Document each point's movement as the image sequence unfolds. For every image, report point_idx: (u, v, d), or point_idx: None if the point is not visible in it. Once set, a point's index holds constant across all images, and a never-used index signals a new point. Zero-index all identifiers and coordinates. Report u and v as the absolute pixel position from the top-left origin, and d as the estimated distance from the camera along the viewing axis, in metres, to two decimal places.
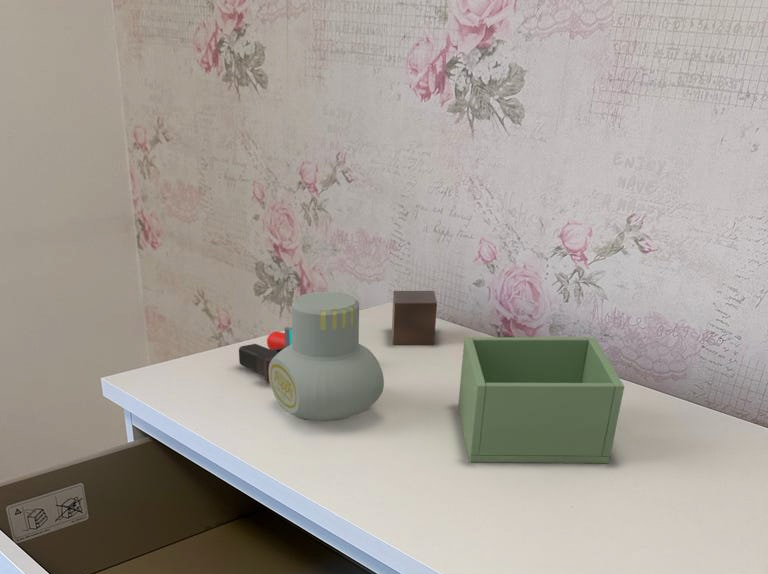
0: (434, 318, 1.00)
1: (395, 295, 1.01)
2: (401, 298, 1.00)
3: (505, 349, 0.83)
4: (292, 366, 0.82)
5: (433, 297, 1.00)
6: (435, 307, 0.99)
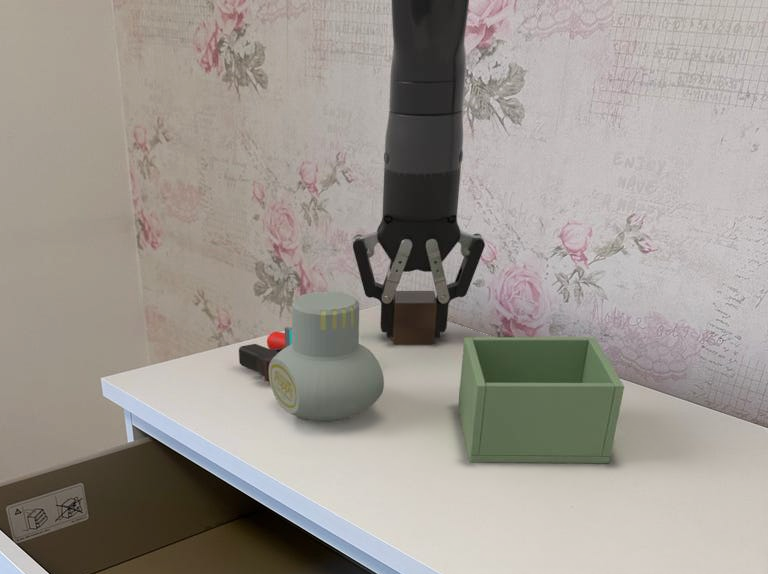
0: (434, 318, 1.00)
1: (395, 295, 1.01)
2: (401, 298, 1.00)
3: (505, 349, 0.83)
4: (292, 366, 0.82)
5: (433, 297, 1.00)
6: (435, 307, 0.99)
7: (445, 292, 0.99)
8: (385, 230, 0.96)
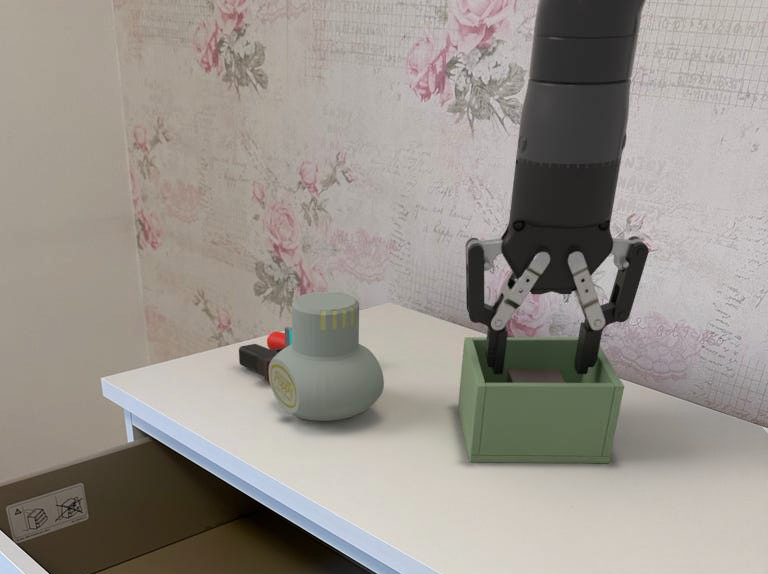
0: None
1: (512, 376, 0.80)
2: (521, 381, 0.79)
3: None
4: (292, 366, 0.82)
5: (561, 380, 0.79)
6: None
7: (600, 316, 0.75)
8: (515, 239, 0.72)
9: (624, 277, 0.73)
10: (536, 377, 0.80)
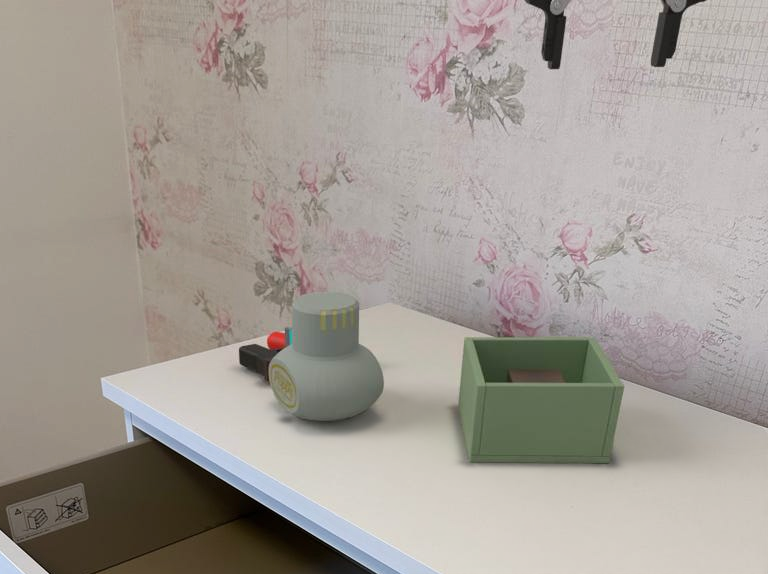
0: None
1: (512, 376, 0.80)
2: (521, 381, 0.79)
3: (505, 349, 0.83)
4: (292, 366, 0.82)
5: (561, 380, 0.79)
6: None
7: None
8: None
9: None
10: (536, 377, 0.80)
